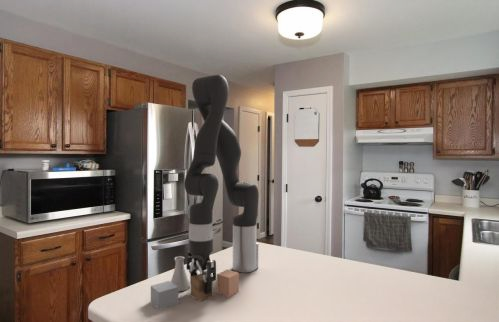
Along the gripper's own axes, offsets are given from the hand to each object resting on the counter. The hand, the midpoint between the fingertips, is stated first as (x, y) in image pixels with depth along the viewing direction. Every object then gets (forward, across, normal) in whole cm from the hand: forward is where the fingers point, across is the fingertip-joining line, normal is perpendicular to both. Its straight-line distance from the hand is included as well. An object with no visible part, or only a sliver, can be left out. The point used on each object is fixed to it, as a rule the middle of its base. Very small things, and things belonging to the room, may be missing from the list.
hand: (200, 288), depth 97 cm
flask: (+3, +10, +2) cm, 10 cm away
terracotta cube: (+2, -3, -8) cm, 9 cm away
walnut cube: (+2, 0, 0) cm, 2 cm away
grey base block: (+3, +3, +10) cm, 11 cm away
